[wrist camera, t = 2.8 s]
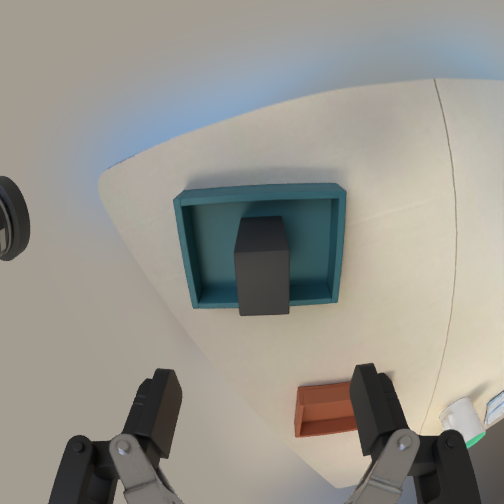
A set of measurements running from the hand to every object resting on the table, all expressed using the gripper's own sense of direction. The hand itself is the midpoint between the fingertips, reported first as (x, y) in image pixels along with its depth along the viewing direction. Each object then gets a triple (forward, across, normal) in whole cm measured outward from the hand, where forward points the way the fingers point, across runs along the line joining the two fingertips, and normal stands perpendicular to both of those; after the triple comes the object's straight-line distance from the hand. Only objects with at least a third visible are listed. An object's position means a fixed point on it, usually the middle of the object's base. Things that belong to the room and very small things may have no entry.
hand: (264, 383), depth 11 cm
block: (+15, 0, 0) cm, 15 cm away
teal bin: (+16, 0, 0) cm, 16 cm away
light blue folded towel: (+16, -69, +49) cm, 86 cm away
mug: (+16, -39, +40) cm, 58 cm away
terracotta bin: (+16, -10, +26) cm, 32 cm away
